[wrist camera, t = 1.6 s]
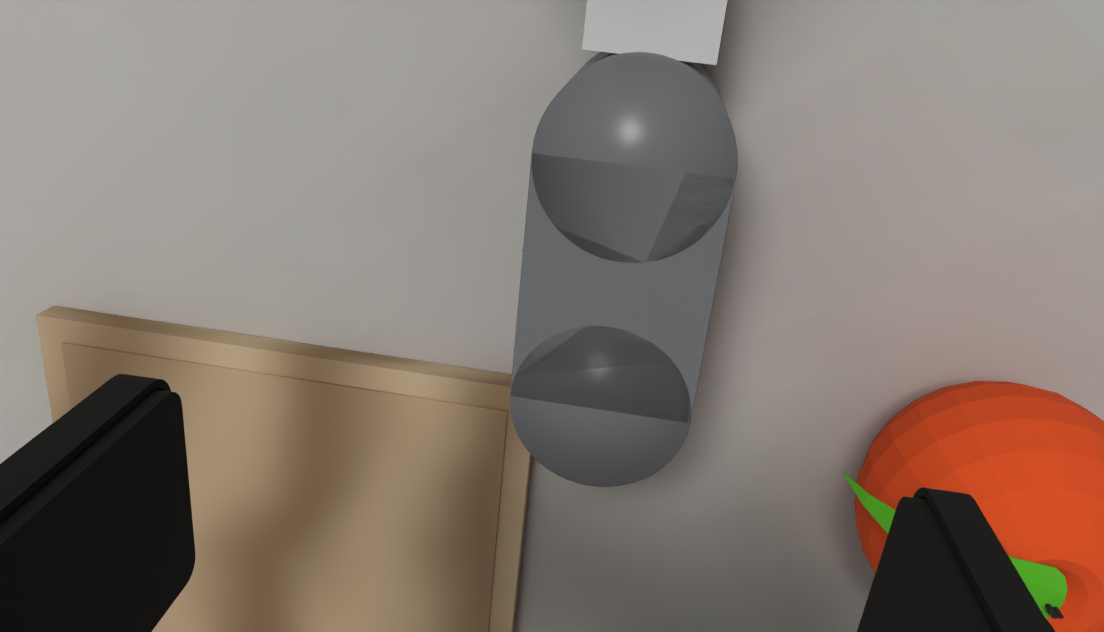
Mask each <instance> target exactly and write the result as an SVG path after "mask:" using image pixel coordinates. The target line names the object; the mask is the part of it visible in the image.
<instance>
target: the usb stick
mask: <svg viewBox="0 0 1104 632" xmlns="http://www.w3.org/2000/svg"><path fill="white" fill-rule="evenodd" d="M726 6H727V0H587V7H586V17H585V26H584V35H583V44H582V50H591V51H599V52H600V53H598V54H597V55H596V56H594V57H593V58H592V59H590V60H589V61H588V62H587V63H586V64H585V65H584V66H583V67H582V68H581V69H580V70H579V71H578V72H577V73H576V74H575V75H574V77H573V78H572V79H571V80H570V81H569V82H568V83H567V84H566V85H565V86H564V87H563V88H562V90H561V91H560V92H559V93H558V94H557V95H556V96H555V98H554V99H553V100H552V101H551V103H550V104H549V106H548V107H547V109H546V111H545V112H544V114H543V116H542V118H541V120H540V123H539V125H538V127H537V131H536V134H535V138H534V142H533V148H532V156H531V167H530V178H529V190H528V201H527V212H526V223H525V235H524V246H523V257H522V268H521V280H520V291H519V302H518V313H517V324H516V336H515V347H514V358H513V369H512V381H511V392H510V410H511V417H512V421H513V425H514V428H515V430H516V432H517V435H518V437H519V438H520V440H521V442H522V443H523V445H524V446H525V448H526V449H527V450H528V452H529V453H530V454H531V455H532V456H533V457H534V458H535V459H536V460H537V461H538V462H539V463H540V464H542V465H543V466H544V467H546V468H547V469H548V470H550V471H552V472H553V473H555V474H557V475H559V476H561V477H563V478H565V479H567V480H570V481H573V482H576V483H580V484H585V485H590V486H600V487H607V486H620V485H625V484H630V483H634V482H636V481H639V480H642V479H644V478H646V477H648V476H650V475H652V474H654V473H656V472H657V471H658V470H660V469H661V468H663V467H664V466H665V465H666V464H667V463H668V462H669V461H670V460H671V459H672V458H673V457H674V456H675V455H676V453H677V452H678V451H679V449H680V447H681V446H682V444H683V442H684V440H685V438H686V435H687V433H688V429H689V425H690V421H691V415H692V410H693V405H694V399H695V394H696V389H697V383H698V378H699V373H700V367H701V362H702V357H703V351H704V346H705V341H706V335H707V330H708V325H709V319H710V314H711V309H712V303H713V298H714V293H715V287H716V282H717V277H718V271H719V266H720V261H721V255H722V250H723V245H724V239H725V234H726V229H727V223H728V218H729V213H730V207H731V202H732V197H733V191H734V186H735V181H736V173H737V147H736V141H735V136H734V133H733V129H732V126H731V123H730V120H729V118H728V115H727V112H726V109H725V107H724V104H723V101H722V98H721V95H720V93H719V90H718V88H717V86H716V84H715V82H714V80H713V79H712V77H711V75H710V74H709V72H708V71H707V70H706V69H705V68H704V66H703V65H702V64H701V63H703V64H711V65H717V59H718V53H719V47H720V42H721V36H722V30H723V24H724V18H725V12H726Z"/></svg>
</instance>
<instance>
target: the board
mask: <svg viewBox="0 0 1104 632" xmlns="http://www.w3.org/2000/svg"><path fill="white" fill-rule="evenodd" d="M36 317H37V324H38V330H39V336H40V343H41V349H42V356H43V362H44V368H45V375H46V381H47V388H48V394H49V400H50V407H51V413H52V420H53V423H54V422H55V421H56V420H58V419H59V418H60V417H62V416H63V415H64V414H66V413H67V412H68V411H69V410H71V409H72V408H73V407H75V406H76V405H77V404H78V403H80V402H81V401H82V400H84V399H85V398H86V397H87V396H89V395H90V394H91V393H93V392H94V391H95V390H96V389H98V388H99V387H100V386H102V385H103V384H104V383H106V382H107V381H108V380H109V379H111V378H112V377H114V376H116V375H117V374H128V375H135V376H142V377H149V378H156V379H163V380H164V381H166V382H167V383H168V385H169V387H170V389H171V392H176V393H177V394H179V396H180V398H181V402H182V409H183V420H184V432H185V443H186V454H187V465H188V476H189V487H190V498H191V509H192V521H193V532H194V543H195V565H194V569H193V572H192V575H191V577H190V580H189V581H188V583H187V585H186V586H185V587H184V589H183V590H182V591H181V593H180V594H179V596H178V597H177V598H176V600H175V601H174V602H173V604H172V605H171V606H170V608H169V609H168V610H167V612H166V613H165V614H164V616H163V617H162V618H161V620H160V621H159V622H158V624H157V625H156V626H155V628H154V629H153V630H152V632H514V626H515V616H516V606H517V597H518V587H519V578H520V568H521V558H522V549H523V539H524V530H525V520H526V510H527V501H528V491H529V482H530V472H531V462H532V455H531V454H530V453H529V452H528V450H527V449H526V448H525V446H524V445H523V443H522V442H521V440H520V438H519V437H518V435H517V432H516V430H515V428H514V425H513V421H512V417H511V410H510V392H511V381H512V375H510V374H503V373H496V372H490V371H483V370H477V369H470V368H463V367H457V366H450V365H443V364H437V363H430V362H423V361H417V360H410V359H403V358H397V357H390V356H383V355H377V354H370V353H364V352H357V351H350V350H344V349H337V348H330V347H324V346H317V345H310V344H304V343H297V342H290V341H284V340H277V339H271V338H264V337H257V336H251V335H244V334H237V333H231V332H224V331H217V330H211V329H204V328H197V327H191V326H184V325H177V324H171V323H164V322H158V321H151V320H144V319H138V318H131V317H124V316H118V315H111V314H104V313H98V312H91V311H84V310H78V309H71V308H64V307H58V306H52V307H50V308H48V309H47V310H45V311H43V312H41V313H39V314H37V315H36Z"/></svg>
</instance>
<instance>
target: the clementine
mask: <svg viewBox="0 0 1104 632" xmlns="http://www.w3.org/2000/svg"><path fill="white" fill-rule="evenodd" d="M842 473H843V475H844V476H845V478H846V479H847V481H848V482H849V484H850V486H851V487H852V489H853V490H854V492H855V493H856V499H855V510H856V521H857V527H858V531H859V536H860V540H861V545H862V549H863V552H864V554H865V556H866V558H867V559H868V561H869V563H870V565H871V567H872V568H873V570H874V572H875V574H876V571H877V567H878V564H879V561H880V558H881V555H882V552H883V548H884V545H885V542H886V539H887V536H888V533H889V529H890V526H891V523H892V520H893V517H894V514H895V510H896V507H897V505H898V502H899V501H900V499H901V498H902V497H912V498H913V496H914V494H915V493H916V491H917V490H918V489H920V488H922V487H924V488H931V489H938V490H945V491H952V492H959V493H966V494H969V495H971V496H972V497H973V498H974V500H975V501H976V503H977V504H978V506H979V508H980V509H981V511H982V513H983V514H984V516H985V518H986V519H987V521H988V523H989V525H990V526H991V528H992V530H993V531H994V533H995V535H996V536H997V538H998V540H999V541H1000V543H1001V545H1002V546H1003V548H1004V550H1005V551H1006V553H1007V555H1008V556H1009V558H1010V560H1011V561H1012V563H1013V565H1014V566H1015V568H1016V570H1017V571H1018V573H1019V575H1020V576H1021V578H1022V580H1023V581H1024V583H1025V585H1026V586H1027V588H1028V590H1029V591H1030V593H1031V595H1032V597H1033V598H1034V600H1035V602H1036V603H1037V605H1038V607H1039V608H1040V610H1041V612H1042V613H1043V615H1044V617H1045V618H1046V619H1047V620H1048V622H1049V623H1050V624H1051V625H1052V627H1053V628H1054V630H1055V632H1104V421H1103V420H1101V419H1100V418H1098V417H1097V416H1096V415H1094V414H1093V413H1091V412H1090V411H1089V410H1087V409H1085V408H1084V407H1082V406H1080V405H1078V404H1076V403H1074V402H1073V401H1071V400H1069V399H1067V398H1065V397H1064V396H1062V395H1060V394H1058V393H1055V392H1051V391H1047V390H1043V389H1039V388H1035V387H1031V386H1027V385H1023V384H1017V383H1012V382H993V381H974V382H969V383H964V384H959V385H954V386H949V387H944V388H942V389H940V390H937V391H935V392H933V393H931V394H928V395H926V396H924V397H922V398H919V399H917V400H915V401H914V402H912V403H911V404H910V405H908V406H907V407H906V408H904V409H903V410H902V411H900V412H899V413H898V414H896V415H895V416H894V417H892V418H891V420H890V421H889V422H888V423H887V424H886V426H885V427H884V428H883V429H882V431H881V432H880V433H879V434H878V435H877V437H876V438H875V439H874V441H873V444H872V446H871V448H870V450H869V452H868V455H867V457H866V459H865V461H864V464H863V466H862V468H861V471H860V473H859V475H858V479H857V483H856V482H855V481H853V480H852V479H851V478H850V477H849V476H848V475H846V474H845V473H844V472H843V471H842Z"/></svg>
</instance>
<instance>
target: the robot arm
mask: <svg viewBox="0 0 1104 632" xmlns="http://www.w3.org/2000/svg"><path fill="white" fill-rule="evenodd" d="M194 565H195V543H194V532H193V521H192V509H191V498H190V487H189V476H188V465H187V454H186V443H185V432H184V420H183V409H182V402H181V398H180V396H179V394H177V393H176V392H171V389H170V387H169V385H168V383H167V382H166V381H164V380H163V379H156V378H149V377H142V376H135V375H128V374H117V375H116V376H114V377H112V378H111V379H109V380H108V381H107V382H106V383H104V384H103V385H102V386H100V387H99V388H98V389H96V390H95V391H94V392H93V393H91V394H90V395H89V396H87V397H86V398H85V399H84V400H82V401H81V402H80V403H78V404H77V405H76V406H75V407H73V408H72V409H71V410H69V411H68V412H67V413H66V414H64V415H63V416H62V417H60V418H59V419H58V420H56V421H55V422H54V423H53V424H51V425H50V426H49V427H47V428H46V429H45V430H44V431H42V432H41V433H40V434H38V435H37V436H36V437H35V438H33V439H32V440H31V441H29V442H28V443H27V444H26V445H24V446H23V447H22V448H20V449H19V450H18V451H17V452H15V453H14V454H13V455H11V456H10V457H9V458H7V459H6V460H5V461H4V462H2V463H1V464H0V632H152V630H153V629H154V628H155V626H156V625H157V624H158V622H159V621H160V620H161V618H162V617H163V616H164V614H165V613H166V612H167V610H168V609H169V608H170V606H171V605H172V604H173V602H174V601H175V600H176V598H177V597H178V596H179V594H180V593H181V591H182V590H183V589H184V587H185V586H186V585H187V583H188V581H189V580H190V577H191V575H192V572H193V569H194ZM857 632H1055V630H1054V628H1053V627H1052V625H1051V624H1050V623H1049V622H1048V620H1047V619H1046V618H1045V617H1044V615H1043V613H1042V612H1041V610H1040V608H1039V607H1038V605H1037V603H1036V602H1035V600H1034V598H1033V597H1032V595H1031V593H1030V591H1029V590H1028V588H1027V586H1026V585H1025V583H1024V581H1023V580H1022V578H1021V576H1020V575H1019V573H1018V571H1017V570H1016V568H1015V566H1014V565H1013V563H1012V561H1011V560H1010V558H1009V556H1008V555H1007V553H1006V551H1005V550H1004V548H1003V546H1002V545H1001V543H1000V541H999V540H998V538H997V536H996V535H995V533H994V531H993V530H992V528H991V526H990V525H989V523H988V521H987V519H986V518H985V516H984V514H983V513H982V511H981V509H980V508H979V506H978V504H977V503H976V501H975V500H974V498H973V497H972V496H971V495H969V494H966V493H959V492H952V491H945V490H938V489H931V488H924V487H922V488H920V489H918V490H917V491H916V493H915V494H914V496H913V498H912V497H902V498H901V499H900V501H899V502H898V505H897V507H896V510H895V514H894V517H893V520H892V523H891V526H890V529H889V533H888V536H887V539H886V542H885V545H884V548H883V552H882V555H881V558H880V561H879V564H878V567H877V571H876V574H875V577H874V580H873V583H872V586H871V590H870V593H869V596H868V599H867V602H866V605H865V608H864V612H863V615H862V618H861V621H860V624H859V627H858V631H857Z"/></svg>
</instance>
